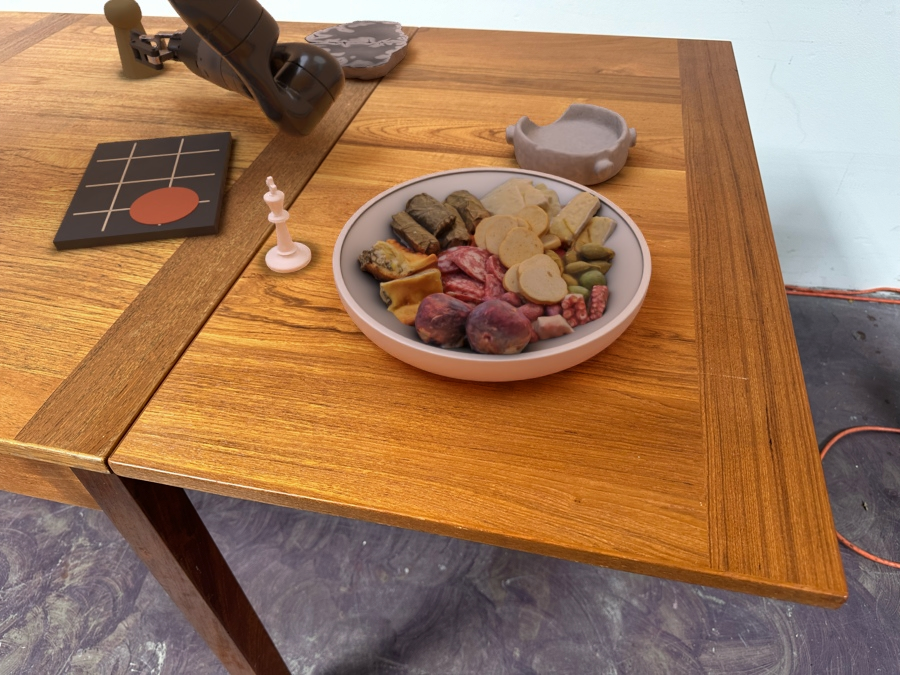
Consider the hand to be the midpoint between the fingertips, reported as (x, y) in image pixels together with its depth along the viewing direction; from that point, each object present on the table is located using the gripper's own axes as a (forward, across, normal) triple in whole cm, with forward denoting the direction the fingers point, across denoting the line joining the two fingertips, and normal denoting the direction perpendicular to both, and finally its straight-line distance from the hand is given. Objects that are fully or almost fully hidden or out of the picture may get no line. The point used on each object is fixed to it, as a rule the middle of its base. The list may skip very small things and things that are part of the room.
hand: (161, 28), depth 94 cm
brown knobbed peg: (+11, 0, +10) cm, 15 cm away
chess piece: (-46, +15, +10) cm, 49 cm away
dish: (-57, -22, +10) cm, 62 cm away
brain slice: (-11, -25, +10) cm, 29 cm away
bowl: (-65, +4, +10) cm, 66 cm away
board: (-23, +17, +10) cm, 30 cm away
